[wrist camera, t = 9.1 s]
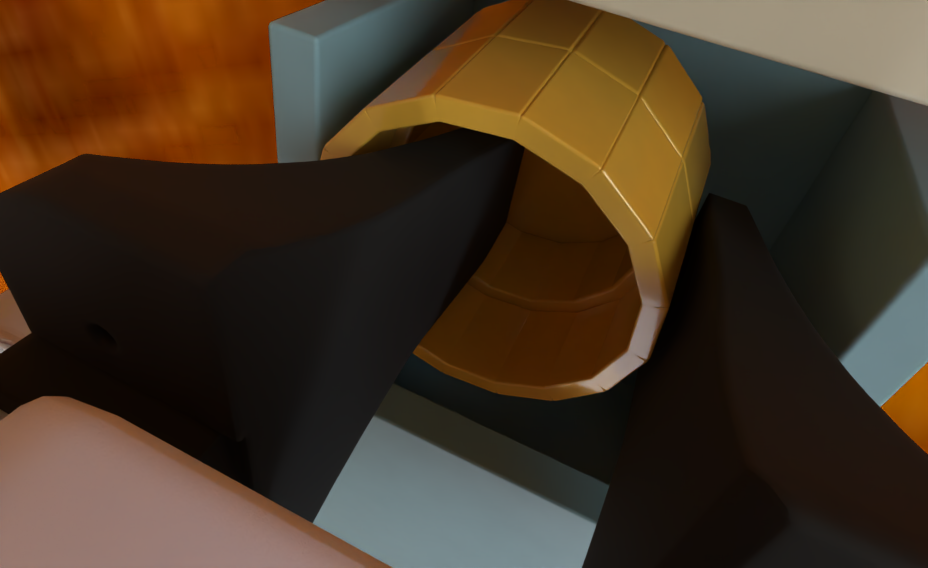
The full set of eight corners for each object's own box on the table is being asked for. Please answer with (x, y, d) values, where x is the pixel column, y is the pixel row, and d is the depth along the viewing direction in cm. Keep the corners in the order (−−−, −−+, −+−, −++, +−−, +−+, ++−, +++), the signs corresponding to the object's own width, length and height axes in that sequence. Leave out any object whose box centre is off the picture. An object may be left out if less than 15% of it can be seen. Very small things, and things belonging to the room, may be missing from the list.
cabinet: (409, 142, 17) (191, 325, 11) (820, 294, 15) (837, 641, 8) (382, 414, 26) (255, 598, 20) (633, 536, 24) (575, 788, 18)
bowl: (604, 288, 13) (542, 439, 11) (404, 157, 13) (291, 275, 11) (790, 105, 9) (767, 277, 6) (500, -86, 9) (355, 7, 6)
